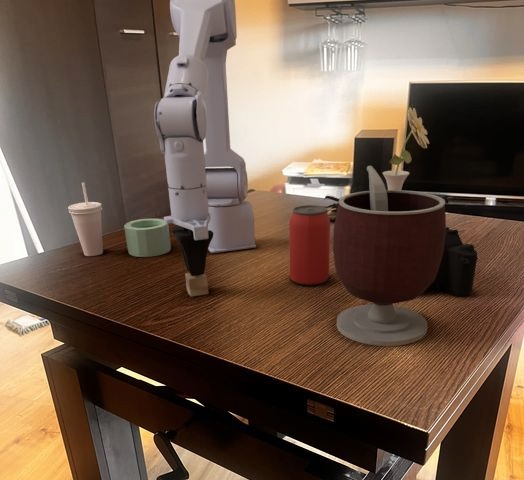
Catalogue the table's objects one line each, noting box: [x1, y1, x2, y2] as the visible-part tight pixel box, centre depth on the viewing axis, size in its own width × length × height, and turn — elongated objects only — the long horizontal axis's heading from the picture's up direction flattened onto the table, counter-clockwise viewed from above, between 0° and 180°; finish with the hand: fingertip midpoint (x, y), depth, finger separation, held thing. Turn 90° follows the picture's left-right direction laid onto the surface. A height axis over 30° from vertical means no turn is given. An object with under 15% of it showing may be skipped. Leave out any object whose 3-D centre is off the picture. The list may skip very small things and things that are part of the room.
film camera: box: [427, 226, 478, 297], centre depth 84 cm, size 15×10×9 cm, turn 24°
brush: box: [184, 272, 210, 298], centre depth 85 cm, size 3×3×9 cm
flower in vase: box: [382, 106, 430, 190], centre depth 102 cm, size 13×11×25 cm
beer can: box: [289, 204, 331, 286], centre depth 88 cm, size 7×7×12 cm
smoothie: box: [67, 181, 104, 257], centre depth 105 cm, size 6×6×14 cm
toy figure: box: [322, 193, 341, 223], centre depth 124 cm, size 7×6×15 cm
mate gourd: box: [332, 165, 447, 347], centre depth 70 cm, size 16×14×20 cm
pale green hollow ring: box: [123, 218, 172, 258], centre depth 107 cm, size 9×9×6 cm
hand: (195, 272), depth 85 cm, fingers closed on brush
